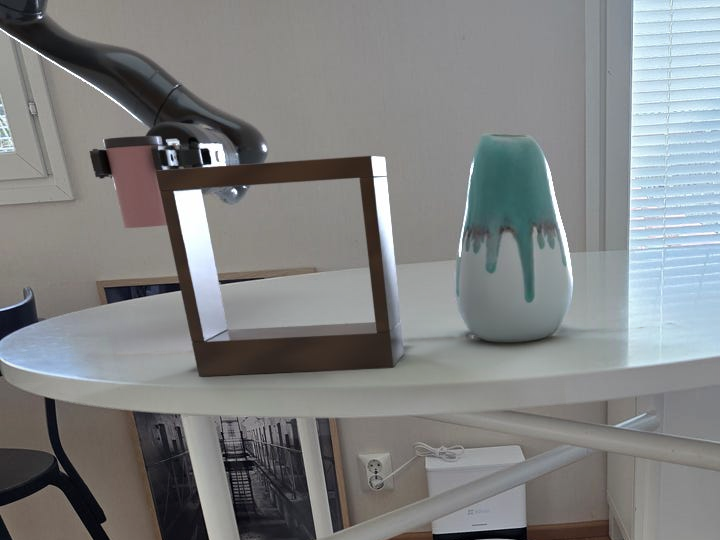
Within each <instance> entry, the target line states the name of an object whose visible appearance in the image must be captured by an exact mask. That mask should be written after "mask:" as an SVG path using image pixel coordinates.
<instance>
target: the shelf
mask: <svg viewBox="0 0 720 540" xmlns="http://www.w3.org/2000/svg"><path fill="white" fill-rule="evenodd" d="M156 176H157V180H158V185H159V190H160V194H161V199H162V204H163V208H164V213H165V218H166V222H167V225H166V227H167V231H168V236H169V242H170V245H171V251H172V255H173V259H174V264H175V269H176V274H177V279H178V283H179V288H180V294H181V297H182V302H183V307H184V311H185V312H184V313H185V316H186V321H187V325H188V326H187V327H188V330H189V335H190V341H191V346H192V350H193V355H194V359H195V364H196V370H197V375H198V377H219V376H221V377H222V376H237V375H238V376H239V375H241V376H242V375H260V374H261V375H262V374H263V375H264V374H281V373H282V374H284V373H285V374H286V373H303V372H304V373H305V372H323V371H324V372H325V371H346V370H347V371H348V370H365V369H366V370H368V369H369V370H371V369H386V368H387V369H388V368H389V369H390V368H391V369H392V368H394V367H395V366H396V364H397V363H398V362H399V360H400V359H401V358H402V356H403V355H404V354H405V349H404V341H403V340H404V339H403V331H402V322H401V321H402V319H401V311H400V310H401V309H400V298H399V289H398V288H399V287H398V278H397V270H396V260H395V259H396V257H395V248H394V247H395V246H394V237H393V227H392V218H391V216H392V215H391V207H390V197H389V196H390V195H389V187H388V177H387V166H386V157H385V156H384V155H383V156H380V155H360V156H345V157H331V158H318V159H317V158H316V159H315V158H314V159H303V160H302V159H301V160H288V161H287V160H285V161H272V162H264V163H256V164H242V165H227V166H213V167H198V168H184V169H169V170H156ZM350 179H352V180H353V179H359V186H360V187H359V188H360V197H361V203H362V204H361V206H362V214H363V223H364V232H365V243H366V250H367V259H368V260H367V261H368V269H369V276H370V286H371V287H370V288H371V295H372V305H373V313H374V314H373V315H374V322H355V323H354V322H352V323H335V324H334V323H333V324H315V325H313V324H311V325H296V326H294V325H293V326H292V325H291V326H276V327H258V328H257V327H256V328H237V329H234V328H233V329H228V324H227V318H226V314H225V309H224V303H223V297H222V292H221V286H220V282H219V277H218V276H219V275H218V271H217V266H216V261H215V256H214V255H215V254H214V251H213V246H212V245H213V244H212V240H211V235H210V229H209V224H208V219H207V214H206V208H205V202H204V199H203V196H202V192H201V189H202V188H217V187H232V186H247V185H251V186H260V185H261V186H263V185H274V184H276V185H277V184H289V183H290V184H291V183H303V182H304V183H306V182H307V183H308V182H319V181H320V182H321V181H334V180H335V181H337V180H350Z"/></svg>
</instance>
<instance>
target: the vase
mask: <svg viewBox="0 0 720 540" xmlns="http://www.w3.org/2000/svg"><path fill="white" fill-rule="evenodd" d="M468 172H469V173H468V178H467V180H468V181H467V187H466V193H465V201H464V210H463V216H462V221H461V226H460V231H459V236H458V242H457V249H456V255H455V267H454V287H453V288H454V289H453V290H454V299H455V304H456V307H457V311H458V313H459V316H460V318H461V320H462V322H463V324H464V325H465V326H466V328H467V329H468V330H469V331H470V332H471V334H473V335H474V336H475V337H476V338H478V339H480V340H483V341H487V342H491V343H522V342H523V343H524V342H530V341H531V342H532V341H536V340H537V341H538V340H541V339H543V338H547V337H549V336H550V335H552V334H554V333H555V332H556V331H557V330H558V329H559V328H560V327H561V325H562V324H563V323H564V321H565V319H566V317H567V315H568V313H569V310H570V307H571V304H572V297H573V291H574V286H573V285H574V279H573V270H572V269H573V268H572V262H571V257H570V252H569V251H570V250H569V245H568V241H567V237H566V232H565V229H564V226H563V222H562V219H561V215H560V211H559V207H558V203H557V199H556V195H555V190H554V185H553V181H552V175H551V171H550V167H549V164H548V160H547V159H546V156H545V153H544V151H543V149H542V148H541V146H540V145H539V144H538V142H537V141H536V140H535V138H534V137H532V135H530V134H523V133H522V134H521V133H501V132H499V133H497V132H494V133H493V132H492V133H490V132H489V133H481V135H480V137H479V140H478V141H477V144H476V146H475V149H474V152H473V154H472V158H471V163H470V166H469V171H468Z"/></svg>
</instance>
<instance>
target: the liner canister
mask: <svg viewBox="0 0 720 540" xmlns="http://www.w3.org/2000/svg"><path fill="white" fill-rule="evenodd" d="M102 141H103V145H104V150H106V152H107V156H108V160H109V165H110V169H111V173H112V177H113V178H112V181H113V184H114V189H115V193H116V197H117V202H118V207H119V211H120V215H121V218H122V223H123V227H124V228H125V229H135V228H136V229H138V228H149V227H151V228H152V227H162V226H167V222H166V218H165V213H164V208H163V204H162V199H161V194H160V190H159V185H158V180H157V176H156V168H155V165H154V160H153V156H152V151H151V147H152V146H158V145H160V146H162V145H163V144H162V139H161V136H145V135H138V136H137V135H135V136H121V137H109V138H104V139H103V140H102Z"/></svg>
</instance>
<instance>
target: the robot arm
mask: <svg viewBox="0 0 720 540" xmlns="http://www.w3.org/2000/svg"><path fill="white" fill-rule="evenodd" d="M48 3H49V0H0V30H1V32H4V33H5V34H6V35H8V36H10V37H11V38H13V39H15V40H16V41H18V42H20V43H21V44H23V45H24V46H26V47H28V48H29V49H31V50H33V51H34V52H36V53H37V54H39V55H41V56H42V57H43V58H45V59H47V60H48V61H50V62H52V63H54V64H55V65H57V66H58V67H60V68H62V69H64V70H65V71H67V72H68V73H70V74H72V75H74V76H75V77H77V78H79V79H81V80H82V81H83V82H86V83H87V84H89V85H90V86H92V87H94V88H95V89H96V90H98V91H100V92H101V93H103V94H104V95H105V96H107V97H108V98H109V99H111V100H112V101H114V102H115V103H116V104H118V105H119V106H120V107H122V108H123V109H124V110H125V111H127V112H128V113H129V114H131V115H132V116H133V117H134V118H135V119H137V120H138V121H139V122H140V123H142V124H143V125H144V126H145V127H147V128H148V131H147V132H146V133H145V134H144V136H161V139H162V144H163V145H162V146H160V145H158V146H152V147H151V151H152V156H153V160H154V165H155V168H156V170H169V169H184V168H198V167H213V166H227V165H242V164H256V163H266V160H267V158H268V155H269V146H268V142H267V140H266V138H265V136H264V135H263V133H262V132H261V131H260V129H259V128H258V127H256V126H255V124H252V123H251V122H249V121H247V120H245V119H244V118H241V117H239V116H237V115H235V114H232V113H230V112H228V111H225V110H223V109H221V108H219V107H217V106H216V105H214V104H212V103H210V102H208V101H207V100H205V99H203V98H202V97H200V96H198V95H197V94H195V92H192V91H191V90H190V89H189V88H187V86H185V85H184V84H183V83H182V82H181V81H179V80H178V79H177V78H176V77H174V75H172V74H171V73H170V72H169V71H167V70H166V69H165V68H164V67H162V65H160V64H159V63H157V62H156V61H155V60H153V59H152V58H151V57H149V56H147V55H145V54H144V53H142V52H140V51H137V50H135V49H133V48H129V47H126V46H123V45H116V44H111V43H106V42H105V43H104V42H100V41H94V40H91V39H87V38H83V37H82V36H79V35H76V34H74V33H72V32H70V31H69V30H67V29H65V28H64V27H63V26H62V25H61V24H60V23H58V22H57V21H56V20H55V19H53V17H52V16H51V15H49V14H48V12H47V8H48ZM203 126H206V127H203ZM89 156H90V160H91V161H90V162H91V165H92V168H93V169H92V170H93V173H94V176H95V178H99V179H100V180H101V179H102V180H103V179H105V178H110V179H113V177H112V173H111V169H110V165H109V160H108V156H107V152H106V149H98V148H92V150H89ZM251 186H252V185H247V186H232V187H217V188H202V189H201V192H202V197H203V196H208V195H210V196H211V197H213V198H214V199H216V200H217V201H219V202H220V203H222V204H226V205H236V204H238V203H239V202H241V201H242V200H243V199H244V198H245V196H246V195H247V193H248V191H249V190H250V188H251Z"/></svg>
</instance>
